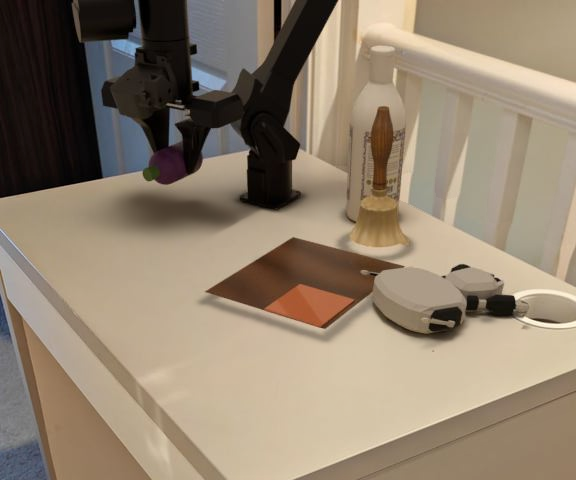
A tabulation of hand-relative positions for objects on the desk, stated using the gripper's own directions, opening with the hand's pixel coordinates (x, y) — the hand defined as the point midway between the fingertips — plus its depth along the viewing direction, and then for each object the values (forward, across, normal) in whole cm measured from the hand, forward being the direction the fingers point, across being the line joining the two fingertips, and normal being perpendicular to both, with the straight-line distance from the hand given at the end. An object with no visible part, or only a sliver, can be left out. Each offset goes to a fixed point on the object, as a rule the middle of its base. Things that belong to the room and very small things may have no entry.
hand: (176, 170), depth 109 cm
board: (+5, +27, -11) cm, 30 cm away
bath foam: (+5, +23, +12) cm, 27 cm away
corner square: (+4, +31, -16) cm, 35 cm away
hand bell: (+5, +28, +4) cm, 29 cm away
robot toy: (+5, +43, -9) cm, 44 cm away
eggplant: (+1, 0, 0) cm, 1 cm away
